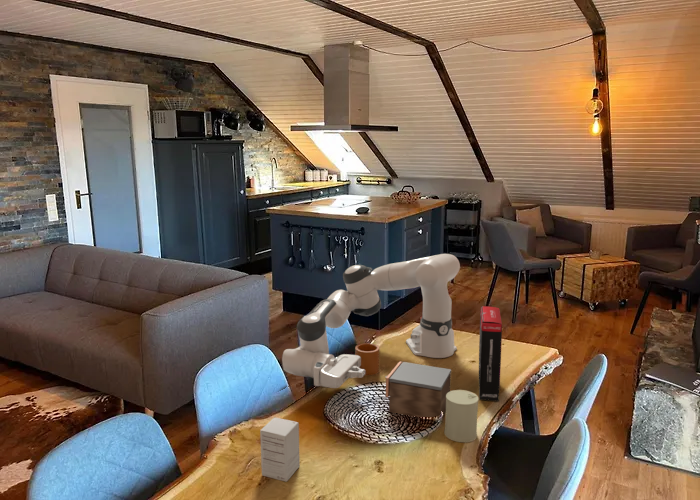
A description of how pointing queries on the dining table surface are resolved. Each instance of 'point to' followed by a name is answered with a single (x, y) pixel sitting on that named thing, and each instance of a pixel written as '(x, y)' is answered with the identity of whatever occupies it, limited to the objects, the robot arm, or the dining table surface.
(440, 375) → the lid
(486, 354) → the graphics card box
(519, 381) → the dining table surface
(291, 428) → the supplement box
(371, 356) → the mug
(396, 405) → the walnut box
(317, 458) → the dining table surface
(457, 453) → the dining table surface
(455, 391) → the can
